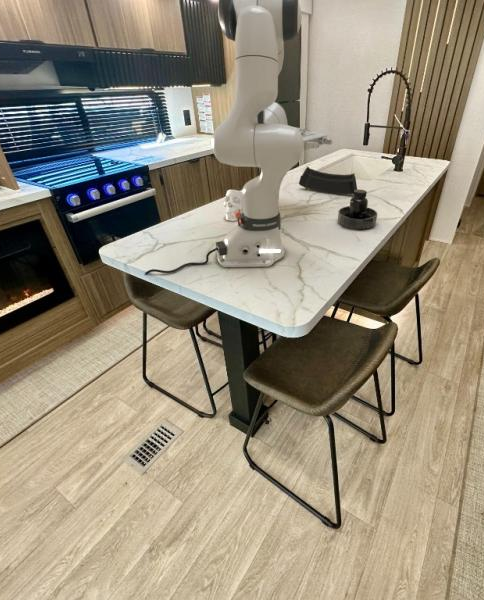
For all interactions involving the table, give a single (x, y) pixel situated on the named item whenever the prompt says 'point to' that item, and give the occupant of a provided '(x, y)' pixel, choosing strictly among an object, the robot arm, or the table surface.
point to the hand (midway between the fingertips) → (324, 143)
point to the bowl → (357, 223)
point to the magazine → (328, 182)
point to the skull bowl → (233, 204)
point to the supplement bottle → (358, 205)
